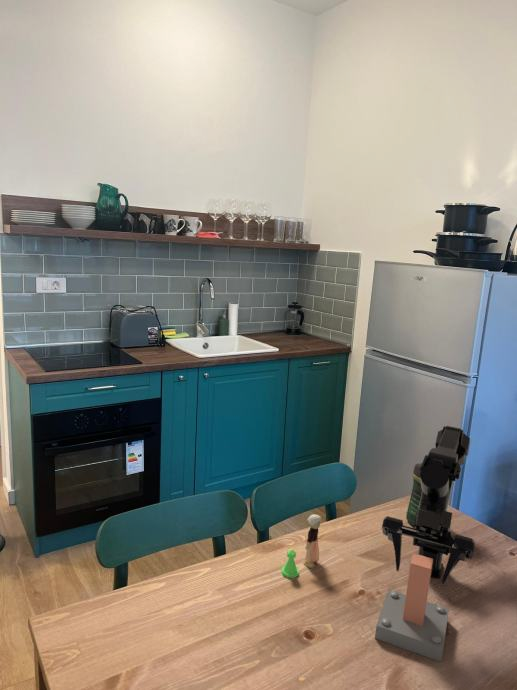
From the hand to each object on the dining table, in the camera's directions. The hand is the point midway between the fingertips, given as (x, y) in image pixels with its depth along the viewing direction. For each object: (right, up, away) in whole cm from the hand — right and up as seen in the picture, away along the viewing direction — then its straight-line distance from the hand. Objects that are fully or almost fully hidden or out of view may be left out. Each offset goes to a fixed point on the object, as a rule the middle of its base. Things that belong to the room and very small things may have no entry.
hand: (419, 577), depth 111 cm
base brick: (-1, -11, +1) cm, 12 cm away
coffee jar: (+15, -4, +46) cm, 48 cm away
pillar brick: (-1, -9, +1) cm, 9 cm away
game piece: (-26, -7, +18) cm, 32 cm away
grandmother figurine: (-20, -6, +23) cm, 31 cm away
